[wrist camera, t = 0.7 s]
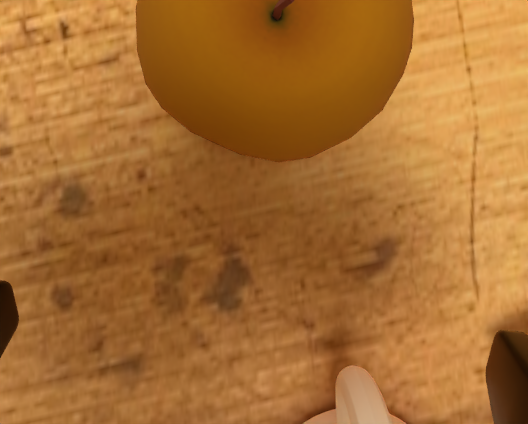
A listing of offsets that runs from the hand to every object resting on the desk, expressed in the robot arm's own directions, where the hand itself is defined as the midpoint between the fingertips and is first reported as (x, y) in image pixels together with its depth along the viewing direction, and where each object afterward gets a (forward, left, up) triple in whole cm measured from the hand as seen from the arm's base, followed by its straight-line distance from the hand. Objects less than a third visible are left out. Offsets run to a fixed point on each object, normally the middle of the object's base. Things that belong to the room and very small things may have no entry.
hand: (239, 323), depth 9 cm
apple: (+7, +2, -14) cm, 16 cm away
